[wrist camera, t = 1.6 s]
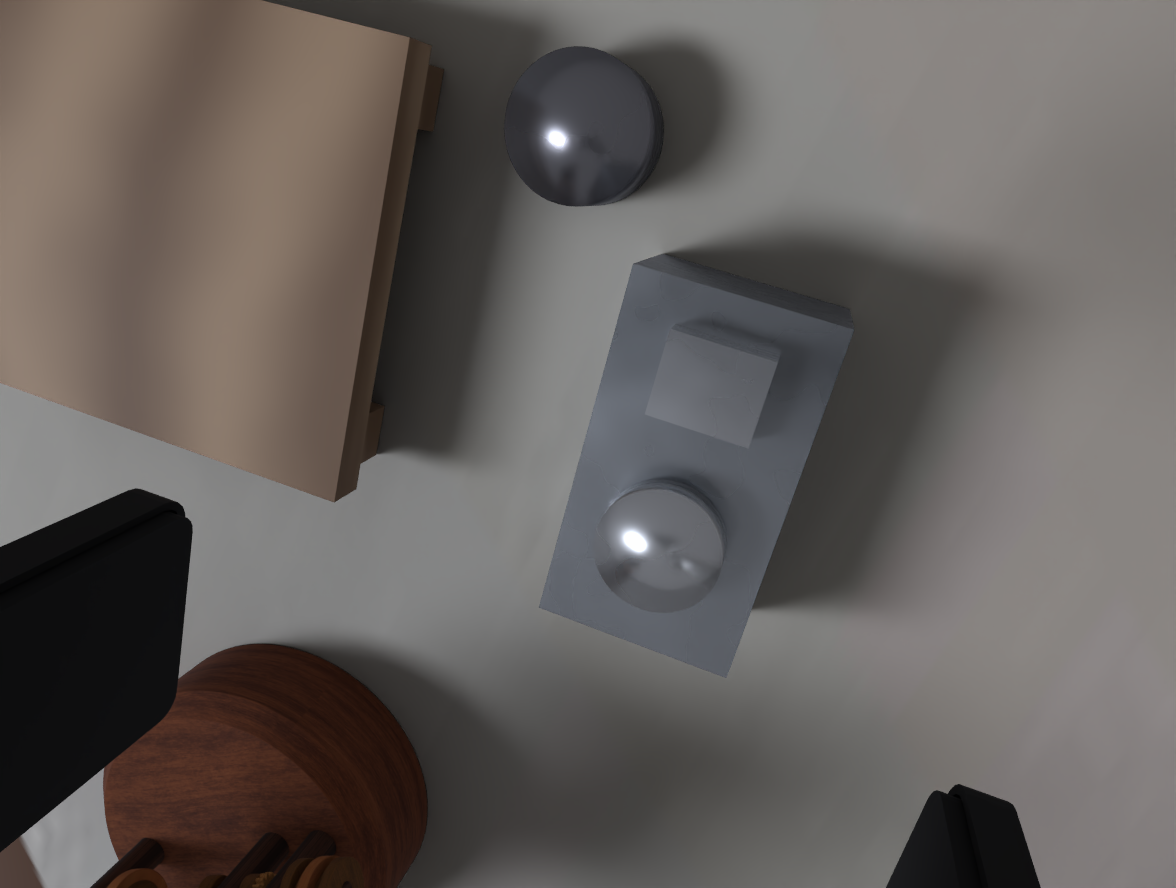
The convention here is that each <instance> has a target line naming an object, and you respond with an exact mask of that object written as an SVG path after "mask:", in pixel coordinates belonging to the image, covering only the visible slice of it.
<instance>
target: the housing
mask: <svg viewBox="0 0 1176 888" xmlns="http://www.w3.org/2000/svg"><path fill="white" fill-rule="evenodd" d="M853 332H854V326H853V321H852V316H851V311H850V309H848V308H845V307H842V306H838V305H835V304H831V303H828V302H825V301H821V300H818V299H815V298H811V297H808V296H804V295H801V294H798V293H794V292H791V291H788V290H784V289H781V288H777V287H774V286H771V285H767V284H764V283H761V282H757V281H754V280H750V279H747V278H744V277H740V276H737V275H734V274H730V273H727V272H723V271H720V270H717V269H713V268H710V267H707V266H703V265H700V264H696V263H693V262H690V261H686V260H683V259H680V258H676V257H673V256H669V255H666V254H660V255H657V256H654V257H651V258H648V259H645V260H642V261H640V262H637V263H634V264H633V266H632V270H631V274H630V277H629V281H628V285H627V288H626V292H625V295H624V299H623V303H622V306H621V310H620V314H619V317H618V321H617V325H616V328H615V332H614V336H613V339H612V343H611V347H610V350H609V354H608V357H607V361H606V365H605V368H604V372H603V376H602V379H601V383H600V387H599V390H598V394H597V398H596V401H595V405H594V408H593V412H592V416H591V419H590V423H589V427H588V430H587V434H586V438H585V441H584V445H583V449H582V452H581V456H580V460H579V463H578V467H577V470H576V474H575V478H574V481H573V485H572V489H571V492H570V496H569V500H568V503H567V507H566V511H565V514H564V518H563V522H562V525H561V529H560V532H559V536H558V540H557V543H556V547H555V551H554V554H553V558H552V562H551V565H550V569H549V573H548V576H547V580H546V583H545V587H544V591H543V594H542V598H541V602H540V605H539V608H542V609H544V610H547V611H550V612H552V613H555V614H558V615H560V616H563V617H566V618H568V619H571V620H574V621H576V622H579V623H582V624H584V625H587V626H590V627H592V628H595V629H598V630H600V631H603V632H605V633H608V634H611V635H613V636H616V637H619V638H621V639H624V640H627V641H629V642H632V643H635V644H637V645H640V646H643V647H645V648H648V649H651V650H653V651H656V652H659V653H661V654H664V655H667V656H669V657H672V658H674V659H677V660H680V661H682V662H685V663H688V664H690V665H693V666H696V667H698V668H701V669H704V670H706V671H709V672H712V673H714V674H717V675H720V676H722V677H725V678H726V677H727V675H728V672H729V669H730V667H731V664H732V661H733V658H734V656H735V653H736V650H737V648H738V645H739V642H740V639H741V637H742V634H743V631H744V629H745V626H746V623H747V620H748V618H749V615H750V612H751V609H752V607H753V604H754V601H755V599H756V596H757V593H758V590H759V588H760V585H761V582H762V580H763V577H764V574H765V571H766V569H767V566H768V563H769V561H770V558H771V555H772V552H773V550H774V547H775V544H776V542H777V539H778V536H779V533H780V531H781V528H782V525H783V522H784V520H785V517H786V514H787V512H788V509H789V506H790V503H791V501H792V498H793V495H794V493H795V490H796V487H797V484H798V482H799V479H800V476H801V474H802V471H803V468H804V465H805V463H806V460H807V457H808V454H809V452H810V449H811V446H812V444H813V441H814V438H815V435H816V433H817V430H818V427H819V425H820V422H821V419H822V416H823V414H824V411H825V408H826V406H827V403H828V400H829V397H830V395H831V392H832V389H833V387H834V384H835V381H836V378H837V376H838V373H839V370H840V367H841V365H842V362H843V359H844V357H845V354H846V351H847V348H848V346H849V343H850V340H851V338H852V335H853Z"/></svg>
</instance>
